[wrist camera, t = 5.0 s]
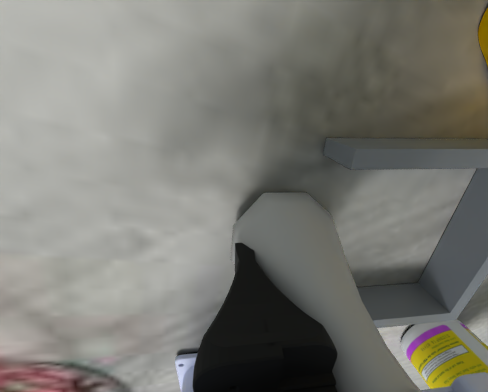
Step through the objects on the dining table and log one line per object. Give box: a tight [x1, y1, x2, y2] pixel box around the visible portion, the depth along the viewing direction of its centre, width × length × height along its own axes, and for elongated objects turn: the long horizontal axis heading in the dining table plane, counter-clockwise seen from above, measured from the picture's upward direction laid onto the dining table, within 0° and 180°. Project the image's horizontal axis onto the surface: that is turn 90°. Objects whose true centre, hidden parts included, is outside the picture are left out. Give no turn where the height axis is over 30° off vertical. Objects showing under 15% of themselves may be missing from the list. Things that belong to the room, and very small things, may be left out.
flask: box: [231, 192, 422, 392], centre depth 10 cm, size 7×7×10 cm
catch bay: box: [323, 138, 488, 328], centre depth 15 cm, size 14×12×3 cm
